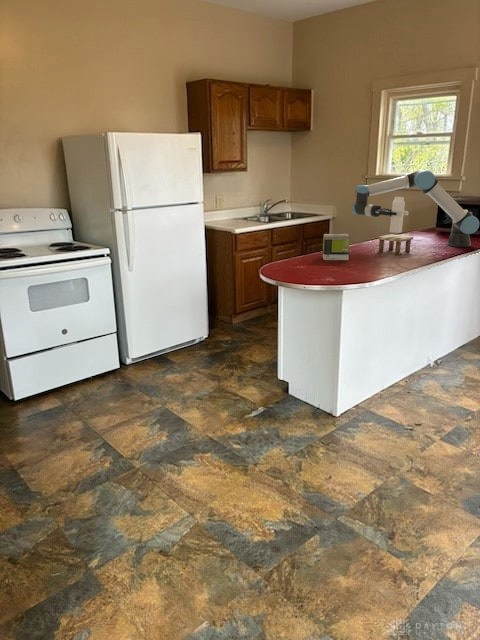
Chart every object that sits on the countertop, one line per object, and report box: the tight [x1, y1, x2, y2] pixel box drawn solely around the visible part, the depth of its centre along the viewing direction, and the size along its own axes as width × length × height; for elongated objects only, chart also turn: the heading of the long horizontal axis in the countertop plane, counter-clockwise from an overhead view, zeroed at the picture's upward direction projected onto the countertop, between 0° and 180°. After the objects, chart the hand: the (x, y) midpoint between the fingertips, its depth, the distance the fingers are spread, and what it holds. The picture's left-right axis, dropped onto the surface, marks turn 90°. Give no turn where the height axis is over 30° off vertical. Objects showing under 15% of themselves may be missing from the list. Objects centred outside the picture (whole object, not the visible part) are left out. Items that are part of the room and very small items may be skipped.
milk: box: [389, 196, 406, 234], centre depth 313 cm, size 6×6×22 cm
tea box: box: [322, 233, 351, 261], centre depth 299 cm, size 15×10×15 cm, turn 84°
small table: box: [377, 233, 414, 256], centre depth 319 cm, size 16×16×10 cm
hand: (404, 213), depth 309 cm, fingers closed on milk, 7 cm apart
